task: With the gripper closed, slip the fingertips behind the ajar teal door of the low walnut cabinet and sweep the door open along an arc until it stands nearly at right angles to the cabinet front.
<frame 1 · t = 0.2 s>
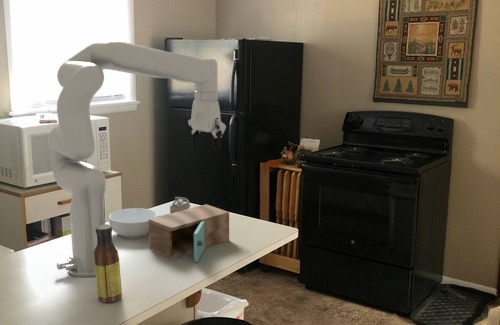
hand: (206, 147, 189), 31 cm above the table, tool pointing down, fingers open, 9 cm apart
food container: (181, 228, 203), on the table
cabinet: (190, 244, 187), on the table
sauce bottle: (109, 299, 147), on the table
door: (201, 241, 175), point 5 cm above the table, hinge at 40.0°
cereal bowl: (134, 234, 196), on the table
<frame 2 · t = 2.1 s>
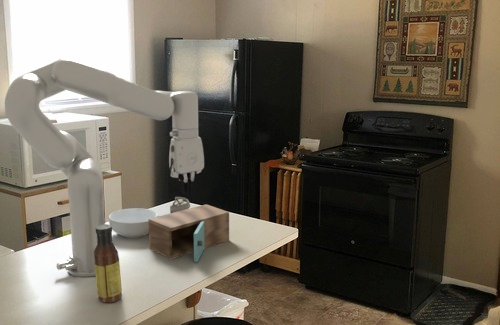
hand: (186, 193, 169), 21 cm above the table, tool pointing down, fingers closed
nothing on the table moved.
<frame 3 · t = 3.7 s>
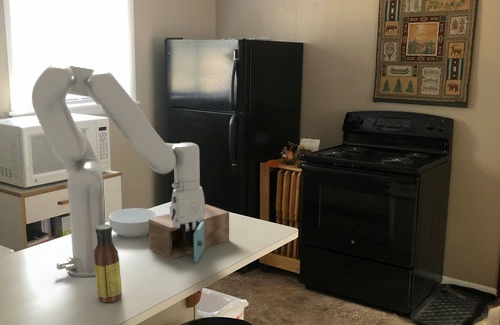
hand: (188, 242, 173), 6 cm above the table, tool pointing down, fingers closed
door: (201, 241, 175), point 5 cm above the table, hinge at 40.0°, touching gripper
everything else where it was.
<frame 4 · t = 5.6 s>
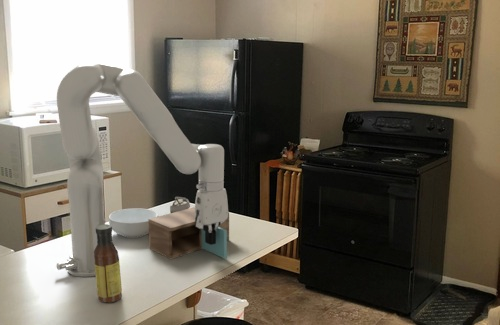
hand: (210, 243, 173), 5 cm above the table, tool pointing down, fingers closed
door: (215, 238, 178), point 5 cm above the table, hinge at 86.8°, touching gripper
everything else where it was.
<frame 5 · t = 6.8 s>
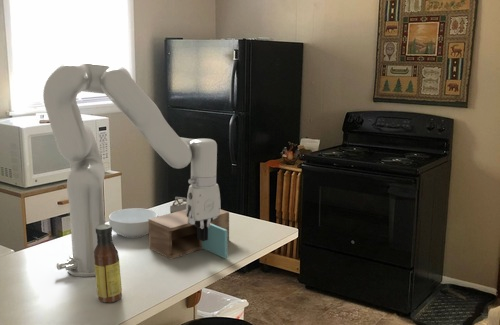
hand: (202, 239, 170), 7 cm above the table, tool pointing down, fingers closed
door: (215, 238, 178), point 5 cm above the table, hinge at 88.1°
everything else where it was.
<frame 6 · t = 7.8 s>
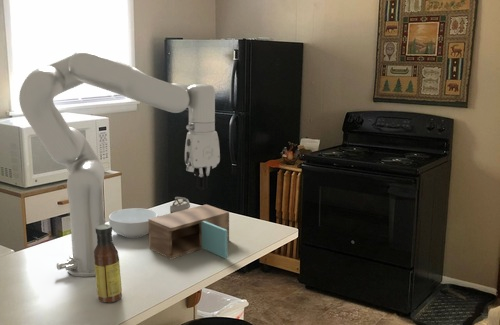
hand: (201, 188, 167), 23 cm above the table, tool pointing down, fingers closed
nothing on the table moved.
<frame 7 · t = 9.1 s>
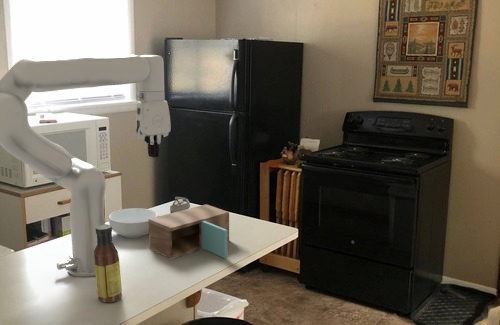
hand: (153, 156, 173), 31 cm above the table, tool pointing down, fingers closed
nothing on the table moved.
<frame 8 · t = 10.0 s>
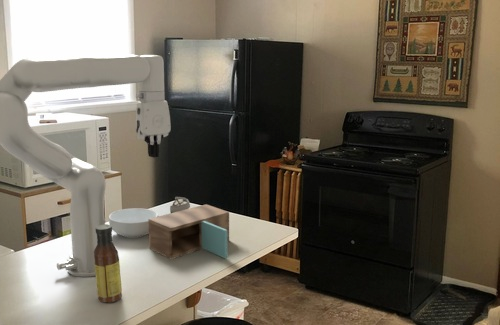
hand: (153, 156, 173), 31 cm above the table, tool pointing down, fingers closed
nothing on the table moved.
at the end: door at +88° (first picture: +40°); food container moved 0.2 cm from its start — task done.
